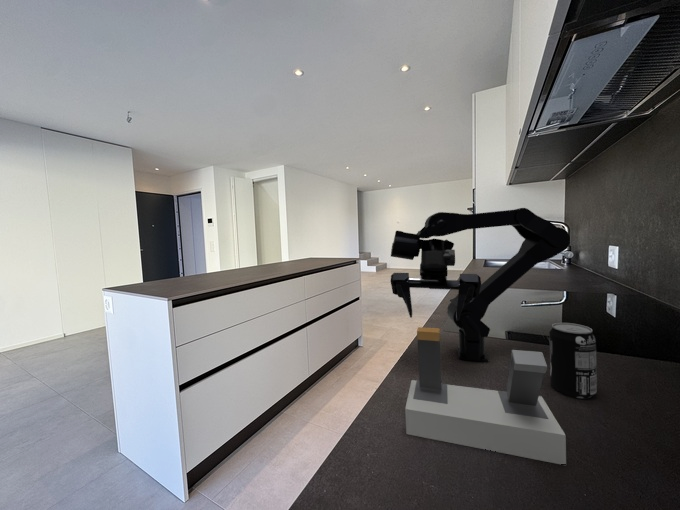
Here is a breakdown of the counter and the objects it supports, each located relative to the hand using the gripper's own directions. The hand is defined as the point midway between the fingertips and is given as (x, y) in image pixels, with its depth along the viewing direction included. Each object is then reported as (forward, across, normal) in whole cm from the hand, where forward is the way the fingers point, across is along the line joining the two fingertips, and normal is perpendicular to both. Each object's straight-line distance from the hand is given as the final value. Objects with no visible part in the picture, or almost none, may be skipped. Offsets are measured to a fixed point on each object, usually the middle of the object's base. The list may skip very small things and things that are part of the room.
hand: (433, 318), depth 56 cm
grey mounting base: (+19, +6, 0) cm, 20 cm away
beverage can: (+8, +25, +10) cm, 28 cm away
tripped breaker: (+14, 0, -2) cm, 15 cm away
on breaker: (+14, +12, -3) cm, 19 cm away
